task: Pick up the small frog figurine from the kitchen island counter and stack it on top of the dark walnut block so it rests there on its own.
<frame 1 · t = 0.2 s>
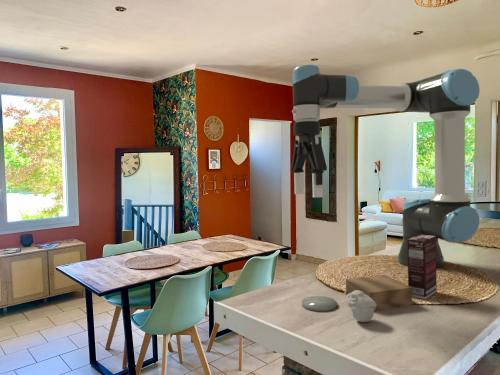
hand: (307, 195, 110), 28 cm above the kitchen island counter, tool pointing down, fingers open, 13 cm apart
supplement box: (422, 294, 105), on the kitchen island counter
grey oval dome: (319, 304, 99), on the kitchen island counter
walnut block: (377, 301, 102), on the kitchen island counter
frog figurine: (361, 321, 89), on the kitchen island counter
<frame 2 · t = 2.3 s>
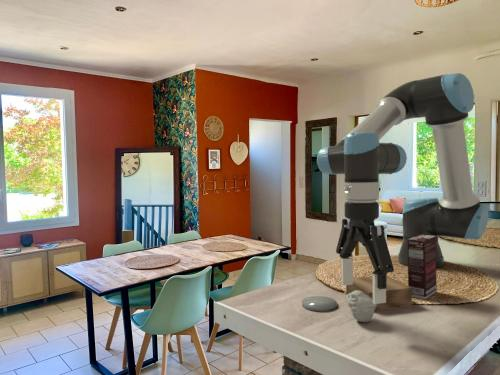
hand: (362, 293, 88), 7 cm above the kitchen island counter, tool pointing down, fingers open, 13 cm apart
nothing on the kitchen island counter moved.
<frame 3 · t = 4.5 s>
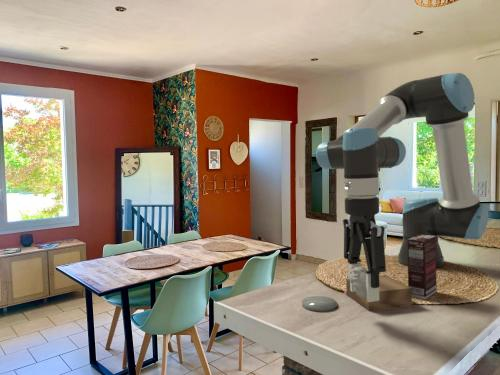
hand: (364, 295, 88), 6 cm above the kitchen island counter, tool pointing down, fingers closed on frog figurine, 6 cm apart
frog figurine: (364, 297, 88), point 5 cm above the kitchen island counter, touching gripper
everything else where it was.
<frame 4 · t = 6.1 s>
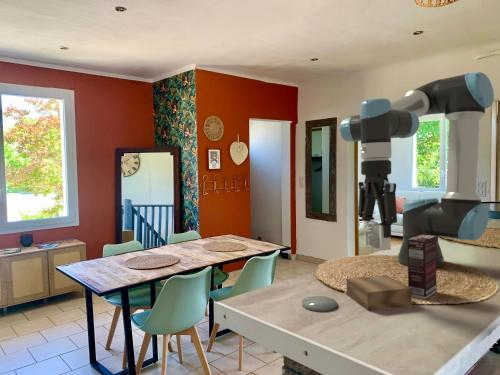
hand: (377, 246, 101), 14 cm above the kitchen island counter, tool pointing down, fingers closed on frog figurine, 6 cm apart
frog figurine: (376, 248, 101), point 14 cm above the kitchen island counter, touching gripper
everything else where it was.
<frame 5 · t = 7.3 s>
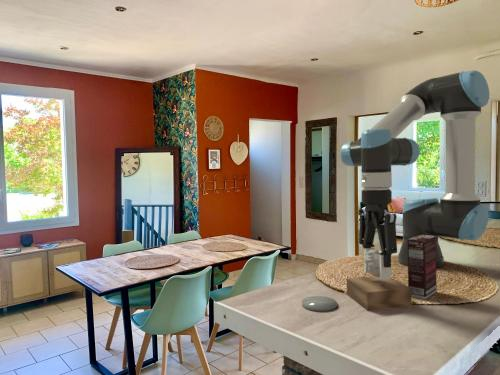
hand: (377, 275, 101), 7 cm above the kitchen island counter, tool pointing down, fingers closed on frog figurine, 6 cm apart
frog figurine: (376, 277, 101), point 6 cm above the kitchen island counter, touching gripper
everything else where it was.
when the fingers open (5 cm above the kitchen island counter, at t = 8.0 s): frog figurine stays where it is, resting on walnut block.
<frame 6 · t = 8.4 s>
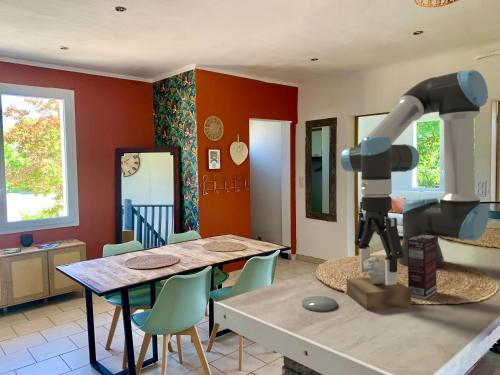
hand: (377, 277, 101), 6 cm above the kitchen island counter, tool pointing down, fingers open, 11 cm apart
walnut block: (377, 302, 102), on the kitchen island counter, touching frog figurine
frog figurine: (377, 284, 101), point 4 cm above the kitchen island counter, touching walnut block
everything else where it was.
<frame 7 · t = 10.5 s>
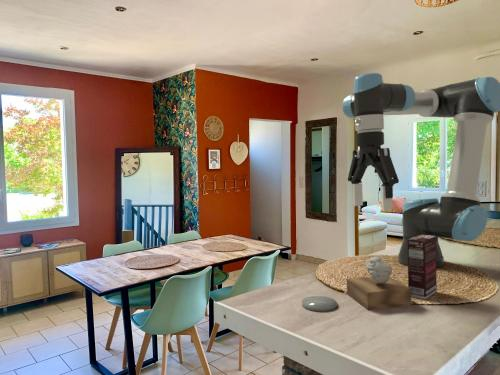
hand: (371, 208, 107), 24 cm above the kitchen island counter, tool pointing down, fingers open, 13 cm apart
nothing on the kitchen island counter moved.
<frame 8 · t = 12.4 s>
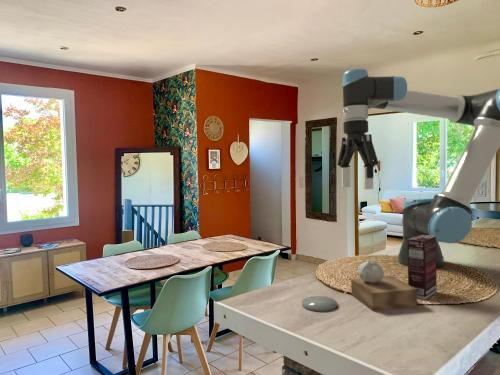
hand: (356, 188, 121), 29 cm above the kitchen island counter, tool pointing down, fingers open, 13 cm apart
walnut block: (382, 302, 101), on the kitchen island counter, touching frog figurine
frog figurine: (383, 278, 100), point 6 cm above the kitchen island counter, touching walnut block
everything else where it was.
at the end: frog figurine inside the target area on the walnut block (0.8 cm from its centre), point 6.8 cm above the walnut block's base; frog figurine touching nothing; the gripper is holding nothing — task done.
